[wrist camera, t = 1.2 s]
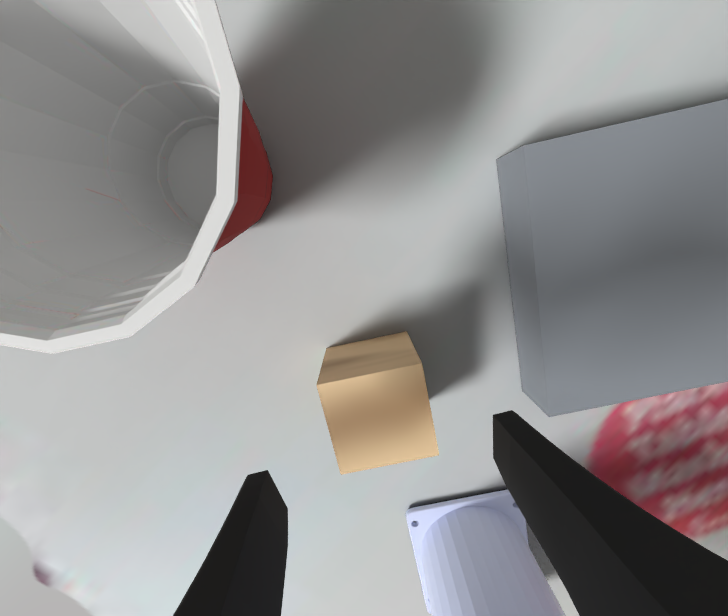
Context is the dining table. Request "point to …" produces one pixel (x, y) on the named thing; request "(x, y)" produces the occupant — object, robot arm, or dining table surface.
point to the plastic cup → (116, 164)
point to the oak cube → (376, 403)
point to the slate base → (620, 259)
